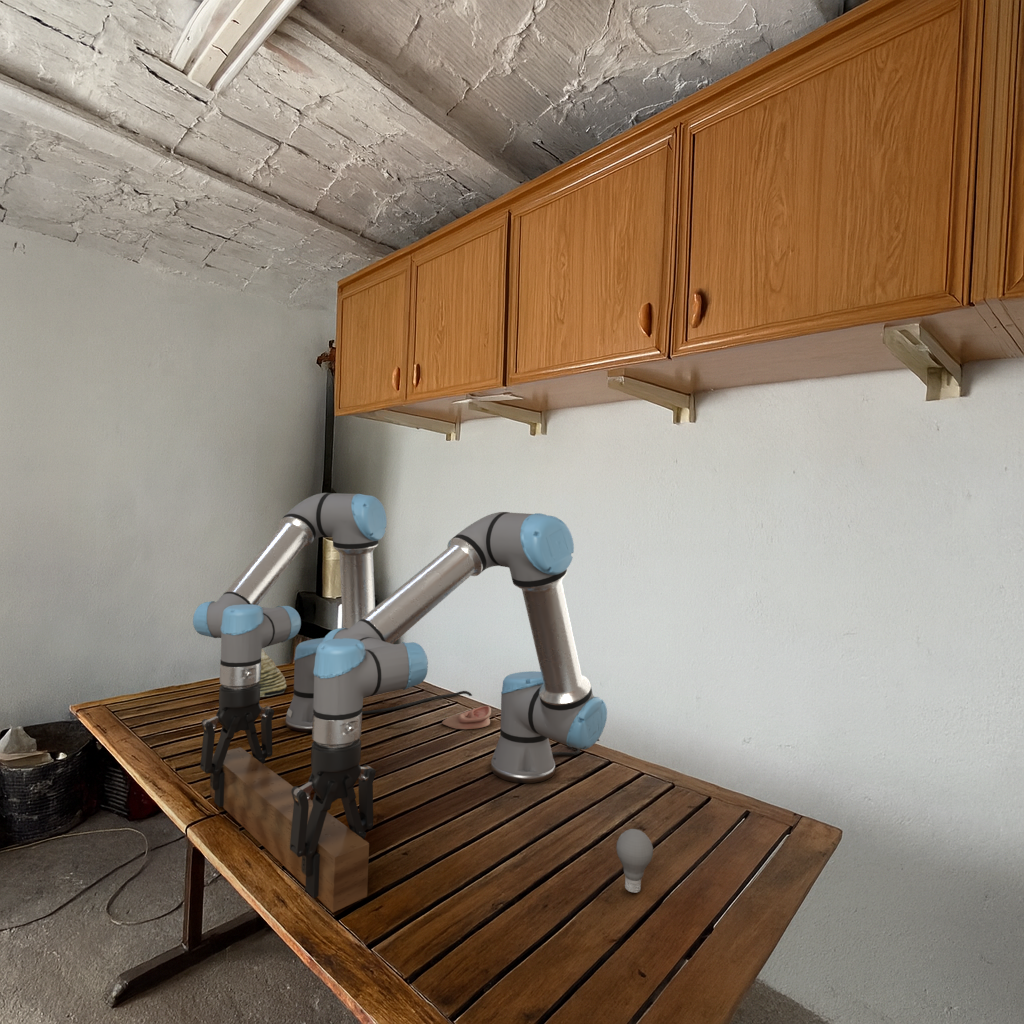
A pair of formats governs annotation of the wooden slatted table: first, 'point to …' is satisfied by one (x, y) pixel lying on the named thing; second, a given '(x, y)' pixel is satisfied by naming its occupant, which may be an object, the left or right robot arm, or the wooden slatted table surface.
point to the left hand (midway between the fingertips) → (236, 798)
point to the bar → (268, 819)
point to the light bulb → (634, 857)
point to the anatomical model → (470, 719)
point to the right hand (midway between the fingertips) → (331, 884)
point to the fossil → (270, 677)
